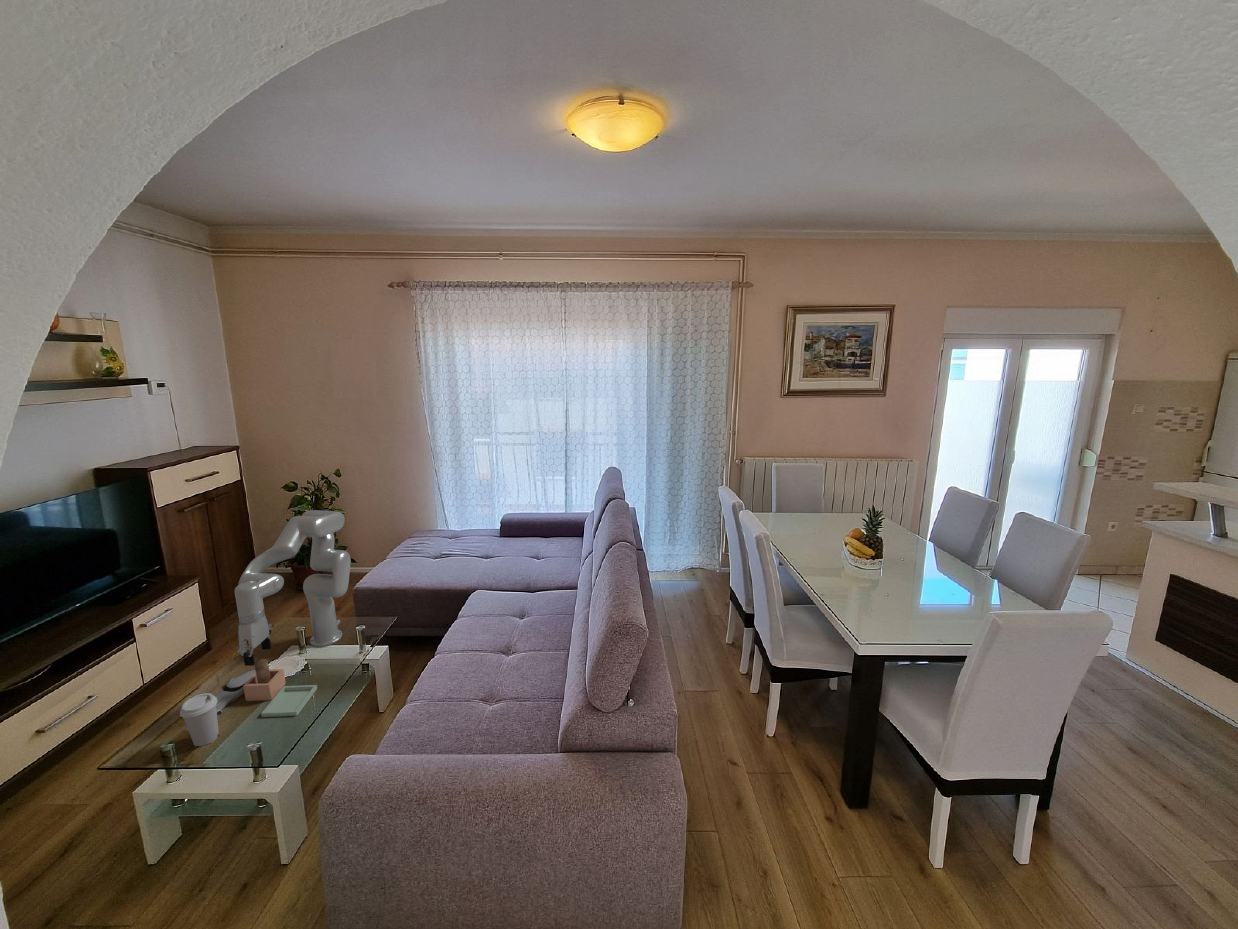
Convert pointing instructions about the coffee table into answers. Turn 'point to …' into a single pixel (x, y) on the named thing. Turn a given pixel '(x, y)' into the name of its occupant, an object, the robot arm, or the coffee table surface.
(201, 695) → the coffee cup
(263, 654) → the coffee table surface
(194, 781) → the coffee table surface
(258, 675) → the peg
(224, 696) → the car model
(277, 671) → the pink storage bin
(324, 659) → the coffee table surface
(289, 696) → the tray
